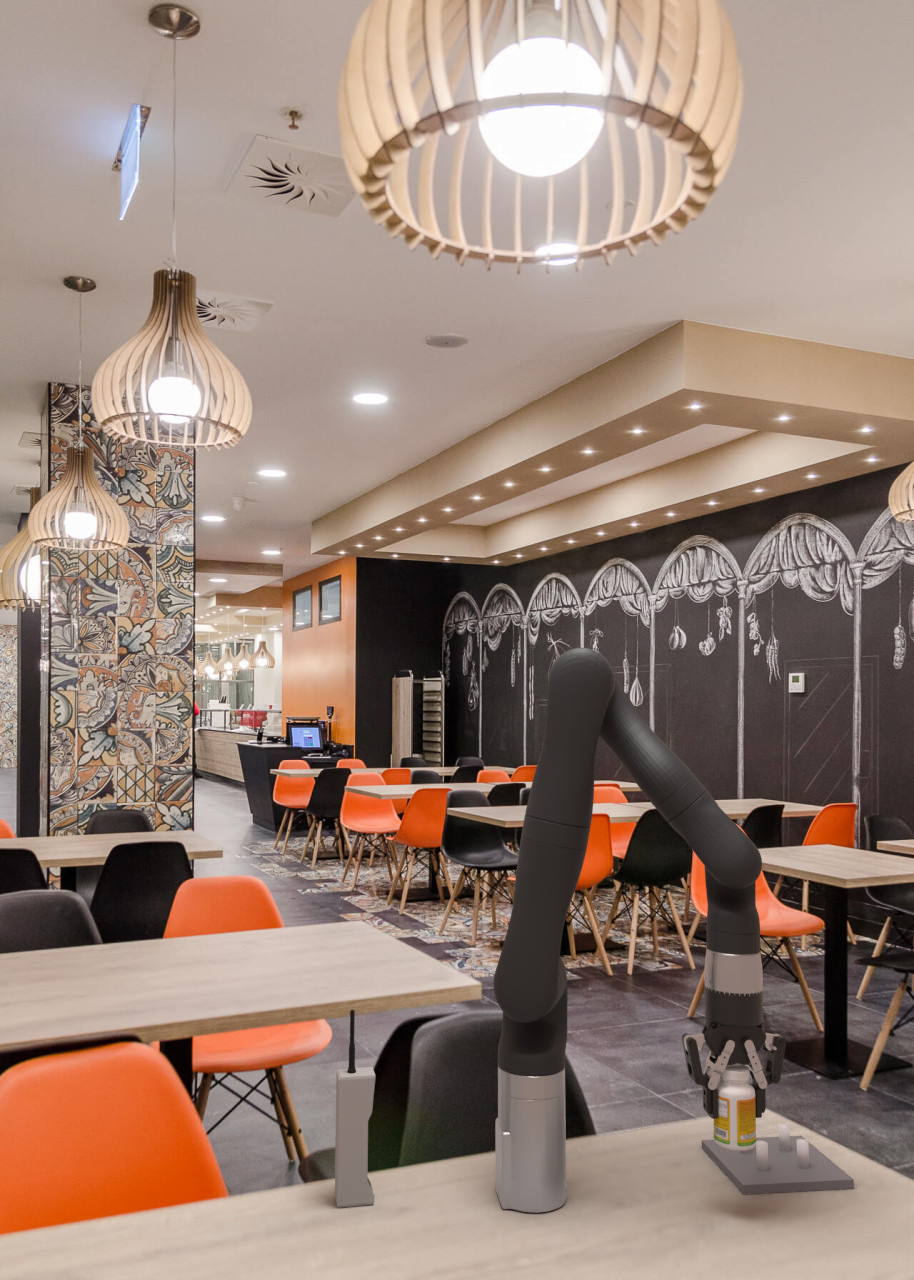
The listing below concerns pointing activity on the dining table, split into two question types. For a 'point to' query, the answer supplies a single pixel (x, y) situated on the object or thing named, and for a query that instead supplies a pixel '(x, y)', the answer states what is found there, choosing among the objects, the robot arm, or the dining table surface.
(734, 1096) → the supplement bottle
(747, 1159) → the pin holder
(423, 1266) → the dining table surface
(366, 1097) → the vintage mobile phone
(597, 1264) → the dining table surface
